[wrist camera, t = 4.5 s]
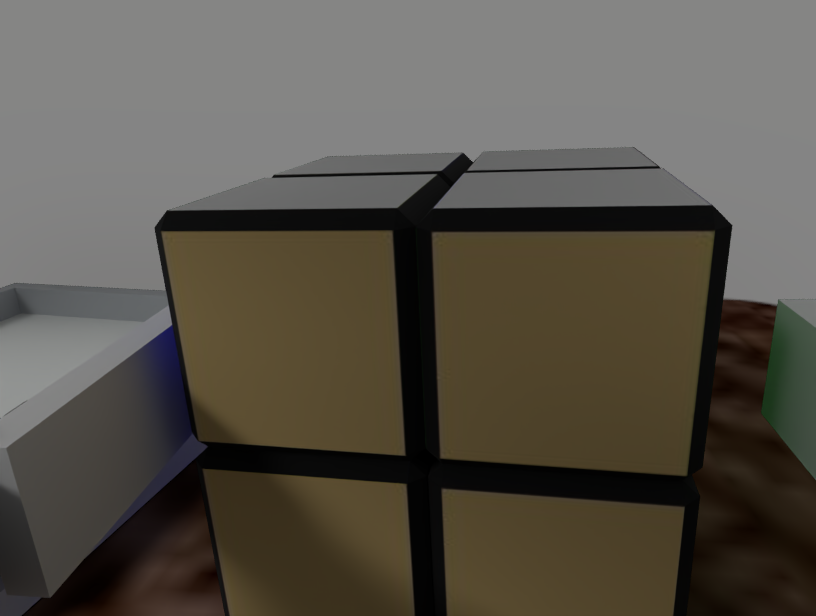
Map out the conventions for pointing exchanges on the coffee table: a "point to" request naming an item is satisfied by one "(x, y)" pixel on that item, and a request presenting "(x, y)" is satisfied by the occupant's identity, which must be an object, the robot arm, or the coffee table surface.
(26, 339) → the shallow square tray
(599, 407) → the puzzle cube
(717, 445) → the coffee table surface
